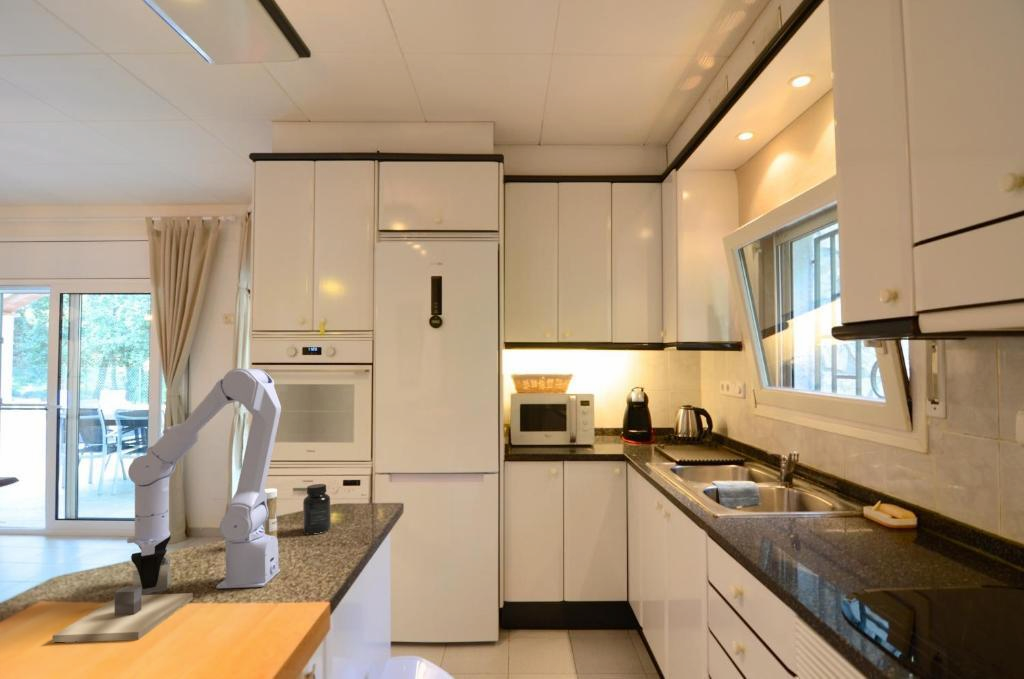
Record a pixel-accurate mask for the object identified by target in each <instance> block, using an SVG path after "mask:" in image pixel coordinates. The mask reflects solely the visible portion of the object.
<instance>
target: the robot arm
mask: <svg viewBox="0 0 1024 679" xmlns="http://www.w3.org/2000/svg"><path fill="white" fill-rule="evenodd" d="M234 402H235V403H236V402H238V403H240V404H241V405H243V407H245V409H246V410H247V411H248V412H249V413H250V414H251V416H252V418H251V422H250V427H249V432H248V437H247V440H246V446H245V450H244V455H243V460H242V464H241V469H240V473H239V474H240V475H239V479H238V484H237V488H236V491H235V494H234V495H233V497H232V498H231V500H230V501H229V504H228V505H229V506H228V509H227V511H226V513H225V514H224V516H223V517H222V518H221V521H220V523H219V531H220V533H221V535H222V537H223V538H224V539H225V579H223V580H222V581H221V582H220V583H219V584H217V585H216V586H215V588H216V589H239V588H241V589H242V588H261V587H262V588H263V587H264V586H265V585H267V584H268V583H269V582H270V581H271V580H272V579H273V578H275V576H277V574H279V573H280V571H281V569H280V568H279V542H278V541H279V540H277V539H278V537H277V538H276V537H275V536H270V535H266V534H265V530H264V527H263V524H264V523H265V521H266V520H267V518H268V507H267V494H266V492H265V489H266V484H267V480H268V476H269V469H270V467H271V466H270V464H271V461H272V455H273V452H274V446H275V441H276V437H277V431H278V428H279V421H280V416H281V414H282V413H281V412H282V406H281V402H280V400H279V397H278V394H277V392H276V388H275V380H274V379H273V378H272V377H271V376H270V375H269V374H268V373H267V372H266V371H265V370H263V369H261V368H259V367H255V368H254V367H253V368H242V367H241V368H240V367H239V368H233V369H231V370H229V371H227V373H226V374H225V375H224V376H223V378H220V379H219V380H218V381H217V382H216V383H215V384H214V386H213V388H211V390H210V392H208V394H206V396H204V399H202V401H201V402H200V403H199V404H198V405H197V406H196V408H195V409H194V410H193V411H192V412H191V414H190V415H189V416H187V419H185V420H184V422H183V423H177V424H173V425H171V426H168V427H165V428H164V430H163V431H162V434H163V435H162V436H161V437H160V438H159V440H158V441H156V442H155V444H154V445H152V446H149V447H148V448H146V450H145V451H146V454H144V455H139V456H137V457H135V458H134V459H133V461H132V462H130V463H131V464H130V465H129V467H128V470H127V472H128V477H129V479H130V480H131V482H133V484H134V536H129V537H127V539H126V542H127V544H132V543H133V544H135V545H137V546H138V547H139V549H140V552H134V553H132V554H131V556H130V560H131V562H132V563H133V564H134V567H135V566H136V568H137V570H138V573H139V576H140V581H141V585H142V588H143V589H148V588H153V587H156V584H157V581H158V576H159V570H160V565H161V562H162V559H163V557H165V555H166V553H167V551H168V549H166V548H167V547H168V544H169V542H170V540H171V536H172V535H171V531H170V477H171V476H172V475H173V473H174V472H175V470H176V465H177V464H178V463H179V461H181V459H182V458H183V457H184V456H185V455H186V454H187V453H188V452H189V451H190V450H191V449H192V448H193V447H194V446H195V444H197V442H198V441H199V440H198V439H199V434H198V433H199V432H200V430H201V429H203V428H204V427H205V426H206V425H207V424H208V423H209V422H210V421H211V420H212V419H213V418H214V417H215V416H216V415H217V414H218V413H219V412H220V411H221V410H223V408H224V407H225V406H227V405H229V404H233V403H234Z"/></svg>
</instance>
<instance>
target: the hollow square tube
mask: <svg viewBox="0 0 1024 679" xmlns="http://www.w3.org/2000/svg"><path fill="white" fill-rule="evenodd" d="M170 561H171V556H170V555H167V556H164V557H163V559H162V562H161V565H160V570H159V576H158V581H157V584H156V587H153V588H148V589H143V588H142V590H141V595H151V594H153V593H154V594H155V593H158V592H162V591H168V590H169V589H168V588H169V585H170V581H171V562H170ZM132 587H142V585H141V581H140V576H139V573H138V570H137V568H136V566H135V565H134V568H133V570H132Z"/></svg>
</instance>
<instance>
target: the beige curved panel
mask: <svg viewBox="0 0 1024 679" xmlns="http://www.w3.org/2000/svg"><path fill="white" fill-rule="evenodd" d="M141 590H142V587H133V586H131V587H122V588H119V589H118V590H116V591H115V592H114V599H112V600H110V601H108V602H107V603H106V604H104V605H102V606H100V607H99V608H96V609H95V610H93V611H91V612H90V613H88V614H87V615H85V616H82V617H81V618H80V619H78V620H76V621H75V622H73V623H71V624H70V625H68V626H66V627H65V628H62V629H61V630H60V631H58V632H56V633H55V634H52V643H53V642H65V643H85V642H86V643H87V642H107V641H108V642H109V641H110V642H111V641H133V640H140V639H141V638H143V637H144V636H145V635H146V634H148V633H149V632H151V631H152V630H154V629H155V628H156V627H157V626H159V625H160V624H162V623H163V622H164V621H165V619H166V618H167V619H168V618H170V617H171V616H172V615H174V614H175V613H176V612H177V611H176V610H178V609H179V608H180V609H182V608H183V607H185V606H186V605H187V604H188V603H190V602H191V601H193V595H194V594H193V592H190V593H189V592H187V593H166V594H165V593H164V594H161V593H160V594H145V595H141ZM182 606H183V607H182ZM181 607H182V608H181ZM180 609H179V610H180ZM179 610H178V611H179ZM175 611H176V612H175ZM174 612H175V613H174ZM173 613H174V614H173ZM171 614H172V615H171ZM170 615H171V616H170ZM169 616H170V617H169ZM167 619H166V620H167ZM75 641H77V642H75Z"/></svg>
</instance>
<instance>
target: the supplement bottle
mask: <svg viewBox="0 0 1024 679" xmlns="http://www.w3.org/2000/svg"><path fill="white" fill-rule="evenodd" d="M306 495H307V496H306V497H304V499H303V500H302V502H303V503H302V505H303V509H302V510H303V512H302V513H303V514H302V515H303V520H302V522H303V532H305V533H308V534H307V535H309V534H314V533H320V532H324V531H327V530H328V529H331V528H330V527H331V524H332V523H331V517H332V516H331V496H330V495H329V494H327V484H325V483H316V484H311V485H308V486H306ZM327 532H328V531H327ZM305 533H304V534H305ZM324 533H325V532H324Z"/></svg>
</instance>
